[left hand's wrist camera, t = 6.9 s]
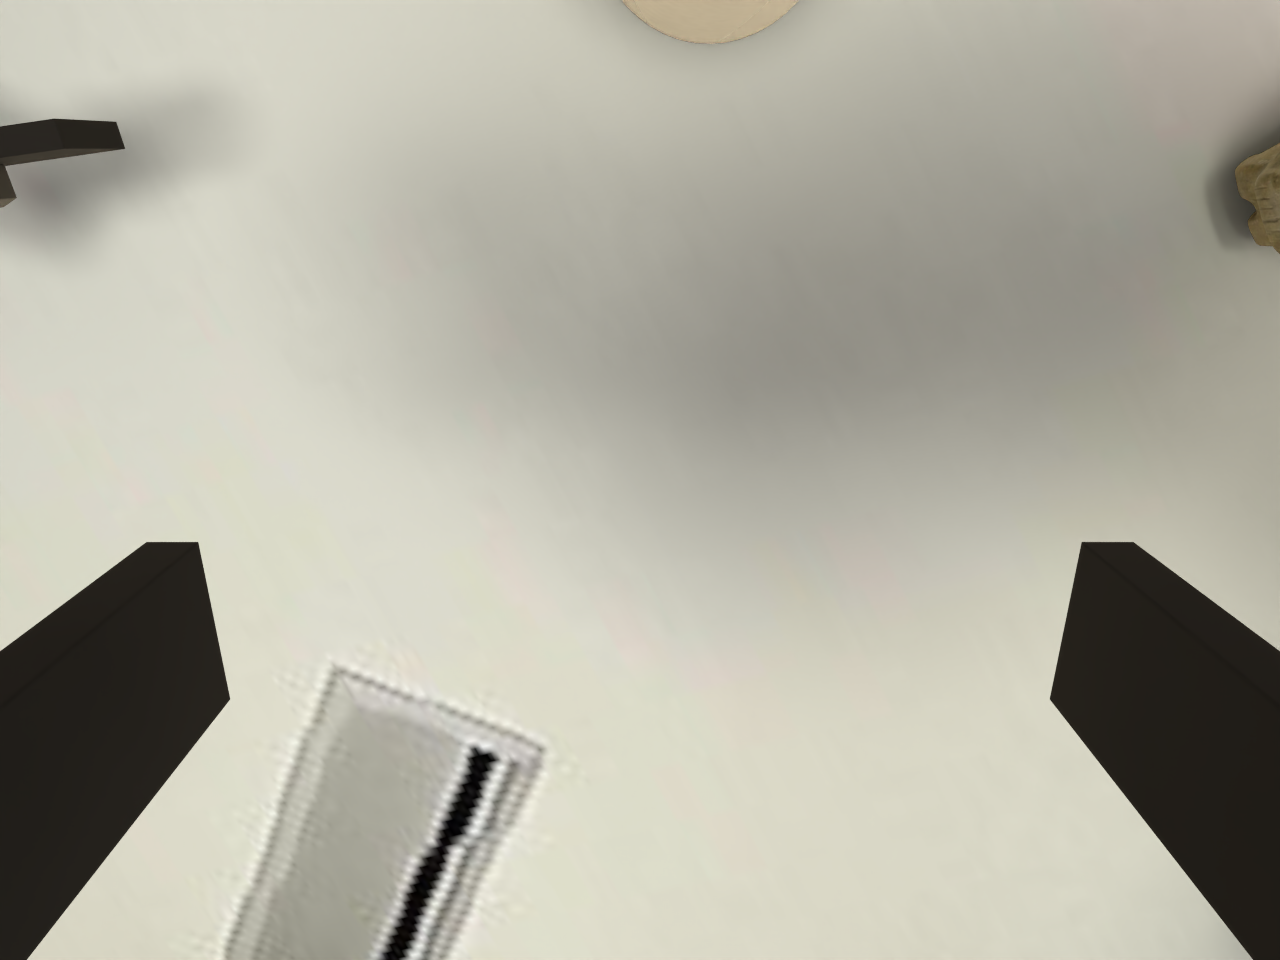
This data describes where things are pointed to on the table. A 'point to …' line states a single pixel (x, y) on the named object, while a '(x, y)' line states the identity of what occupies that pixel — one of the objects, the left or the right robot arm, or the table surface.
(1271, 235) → the sculpture
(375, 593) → the table surface
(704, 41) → the jar
